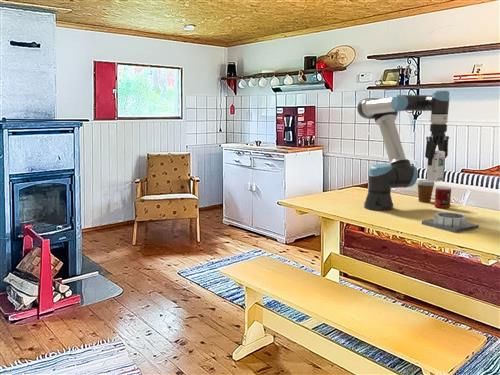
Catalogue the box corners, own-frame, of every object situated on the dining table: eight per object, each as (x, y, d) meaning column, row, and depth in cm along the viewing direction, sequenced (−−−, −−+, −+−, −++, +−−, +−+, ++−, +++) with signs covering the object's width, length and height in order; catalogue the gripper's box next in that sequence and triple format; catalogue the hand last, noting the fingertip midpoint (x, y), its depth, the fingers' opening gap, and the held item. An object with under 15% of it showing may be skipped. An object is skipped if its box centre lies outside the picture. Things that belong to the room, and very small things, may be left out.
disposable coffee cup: (413, 199, 278) (415, 179, 276) (430, 200, 277) (432, 179, 275) (418, 203, 269) (419, 182, 267) (435, 203, 268) (436, 182, 266)
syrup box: (436, 182, 227) (439, 151, 224) (425, 180, 232) (428, 150, 229) (443, 181, 230) (445, 151, 228) (432, 179, 235) (434, 150, 232)
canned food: (441, 209, 252) (443, 189, 250) (431, 206, 259) (432, 186, 257) (453, 208, 255) (454, 188, 253) (441, 205, 262) (443, 186, 260)
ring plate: (421, 223, 220) (422, 213, 219) (444, 220, 228) (445, 209, 227) (455, 232, 205) (456, 221, 204) (478, 228, 213) (479, 217, 212)
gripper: (431, 124, 218) (428, 174, 222) (458, 123, 228) (454, 171, 232) (418, 123, 225) (415, 172, 229) (445, 123, 234) (441, 169, 238)
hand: (435, 171), depth 230 cm, fingers closed on syrup box, 6 cm apart
